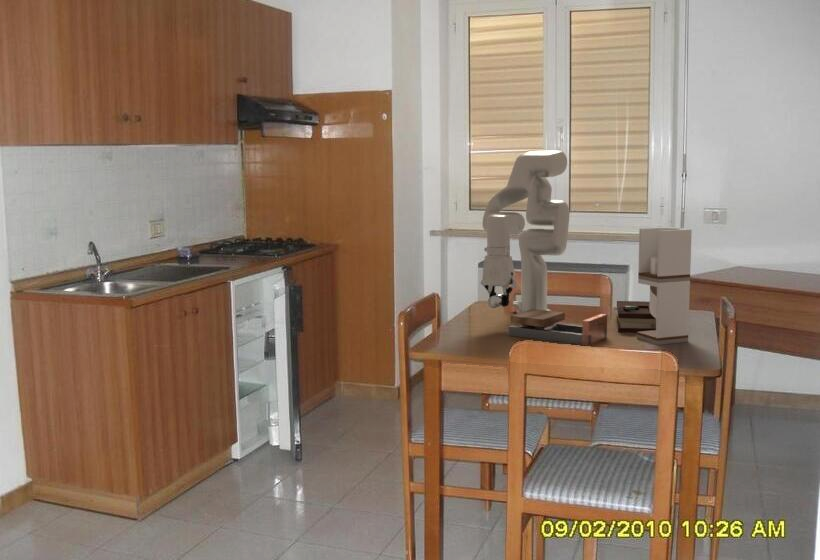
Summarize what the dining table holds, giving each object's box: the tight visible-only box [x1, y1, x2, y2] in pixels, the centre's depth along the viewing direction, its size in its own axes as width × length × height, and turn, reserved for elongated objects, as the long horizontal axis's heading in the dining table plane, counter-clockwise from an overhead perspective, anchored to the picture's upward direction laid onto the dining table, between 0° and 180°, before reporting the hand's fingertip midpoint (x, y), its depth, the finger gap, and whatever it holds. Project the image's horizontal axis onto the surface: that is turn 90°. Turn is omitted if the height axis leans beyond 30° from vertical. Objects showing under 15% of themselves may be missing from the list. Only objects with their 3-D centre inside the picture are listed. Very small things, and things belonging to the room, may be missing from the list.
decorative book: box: [614, 300, 656, 334], centre depth 292 cm, size 19×8×30 cm
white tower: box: [636, 226, 693, 346], centre depth 267 cm, size 11×11×35 cm
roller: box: [487, 292, 511, 309], centre depth 289 cm, size 4×8×4 cm, turn 144°
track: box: [508, 313, 608, 346], centre depth 276 cm, size 28×14×8 cm, turn 54°
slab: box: [510, 309, 566, 327], centre depth 280 cm, size 12×15×2 cm
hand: (499, 304), depth 289 cm, fingers closed on roller, 4 cm apart
